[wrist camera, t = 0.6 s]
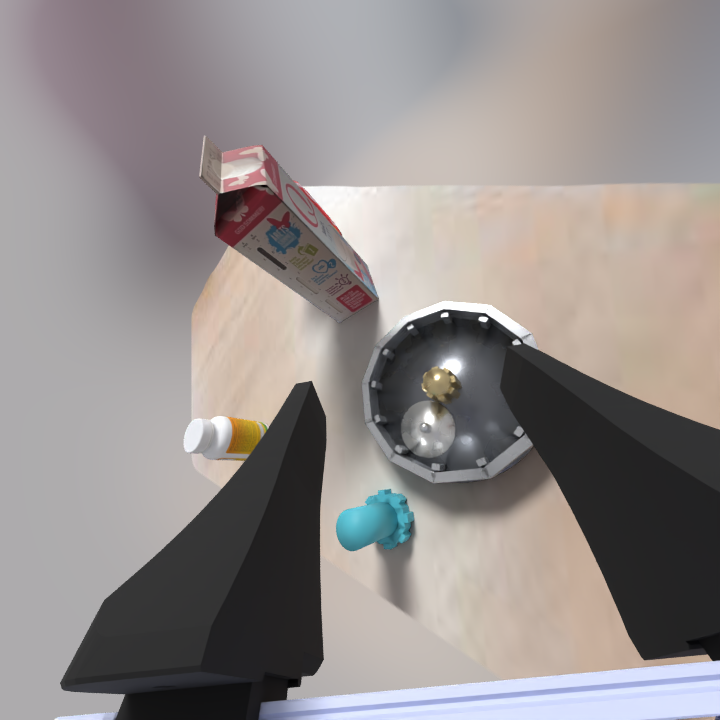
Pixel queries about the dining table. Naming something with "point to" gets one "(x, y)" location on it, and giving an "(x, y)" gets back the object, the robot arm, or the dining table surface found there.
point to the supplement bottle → (223, 437)
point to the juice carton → (284, 230)
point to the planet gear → (375, 522)
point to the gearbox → (446, 393)
